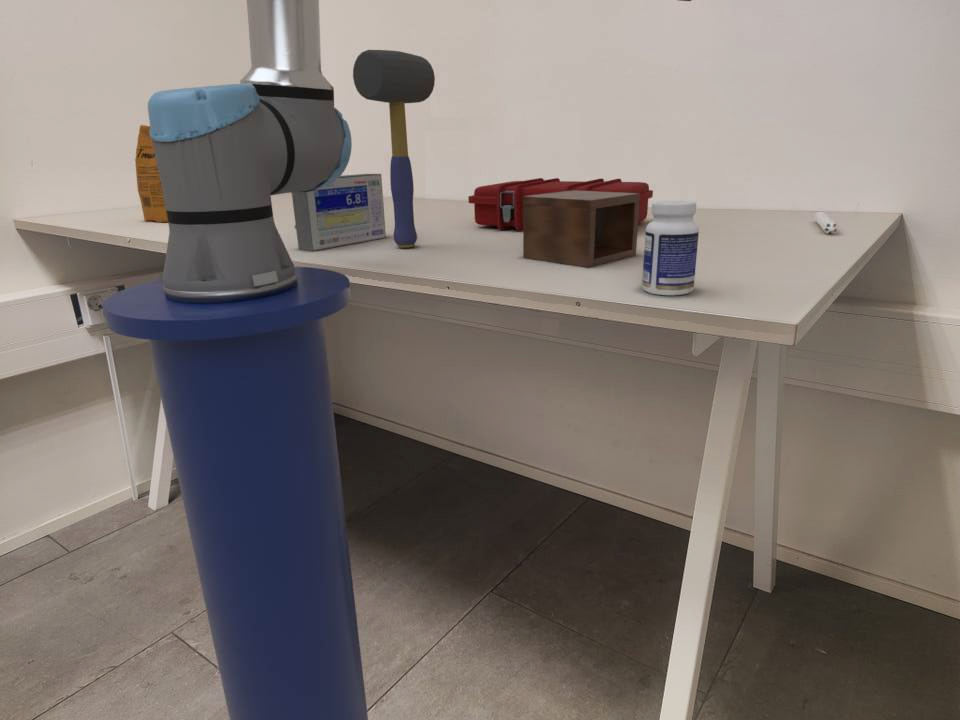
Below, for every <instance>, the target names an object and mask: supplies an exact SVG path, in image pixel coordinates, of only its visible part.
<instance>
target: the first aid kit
mask: <svg viewBox="0 0 960 720" xmlns="http://www.w3.org/2000/svg"><path fill="white" fill-rule="evenodd" d="M572 190H577V191H598V192H619V193H639V194H640V198H639V214H638V224H640V223H641V222H644V221H645V220H646V219H647V216H648V211H649V199H652V198H653V196H654V190H652V189H650V185H649V184H648V183H647V182H644V181H643V182H641V181H622V179H621V178H615V179H610V180H605V179H604V178H597V179H591V180H587V181H582V180H581V181H571V180H570V181H569V180H567V181H566V180H565V181H564V180H561V179H560V178H559V177H555V178H550V179H544V178H542V177H538V178H532V179H526V180H512V181H506V182H499V183H493V184H488V185H481V186H477V187H476V188H475V189H474V191H473V195H470V196H467V197H468V204H472V205H473V208H474V222H475V223H476V224H477V225H479V226H487V227H489V226H491V227H497V229H498V230H499V231H505V230H508V229H511V228H514V230H515V231H516V232H517V231H518V232H521V231H522V232H523V205H524V204H523V197H524V196H530V195H538V194H547V193H555V192H564V191H572Z"/></svg>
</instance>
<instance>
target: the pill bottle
mask: <svg viewBox="0 0 960 720" xmlns="http://www.w3.org/2000/svg"><path fill="white" fill-rule="evenodd" d="M696 213H697V202H696V201H690V200H664V201H653V202H652V203H651V214H652V216H653V218H652V221H650V222H649V223H648V224H647V225H646V227H645V231H644V232H645V233H644V249H643V266H642V280H641V281H642V282H641V287H642V290H643V291H645V292H646V293H648V294H653V295H658V296H683V295H687V294H690V293H691V292H693V290H694V288H695V278H696V267H697V266H696V265H697V256H698V243H699V233H700V232H699V231H700V230H699V229H700V228H699V225H698V224H697V223H696V222H695V221H694V216H695V215H696Z"/></svg>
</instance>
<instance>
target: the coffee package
mask: <svg viewBox="0 0 960 720" xmlns="http://www.w3.org/2000/svg"><path fill="white" fill-rule="evenodd" d="M149 130H150V125H144V124H141V125H139V130H138V131H139V132H138V135H137V144H136V149H135V159H134V161H135V174H136V175H135V176H136V186H137V187H136V188H137V193H138V196H139V201H140V204H141V210H142V215H143V220H144V222H156V223H168V218H167V213H166V208H165V203H164V197H163V192H162V187H161V181H160V176H159V171H158V167H157V162H156V157H155V152H154V147H153V142H152V139H151V137H150V134H149Z"/></svg>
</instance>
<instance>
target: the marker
mask: <svg viewBox="0 0 960 720" xmlns="http://www.w3.org/2000/svg"><path fill="white" fill-rule="evenodd" d="M814 221H815V222H816V223H817V224H818V226H819V227H820V228H821V229H822V230H823V232H824V233H825V234H828V235H832V234H834V233H836V232H837V230H838V226H837V223H836V222H835V221H834V220H833V219H831V217H830V216H829V215H828V214H827V213H826V212H824V211H819V212H816V213H815V215H814Z"/></svg>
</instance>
